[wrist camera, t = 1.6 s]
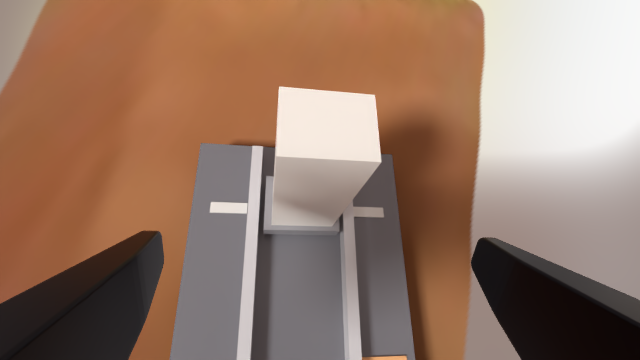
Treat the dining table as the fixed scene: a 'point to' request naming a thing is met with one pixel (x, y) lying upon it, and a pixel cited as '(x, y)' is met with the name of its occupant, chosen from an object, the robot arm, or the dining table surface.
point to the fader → (319, 159)
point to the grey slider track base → (289, 272)
